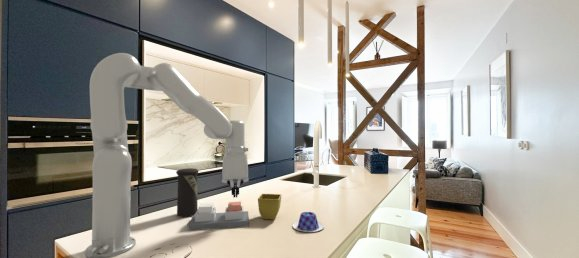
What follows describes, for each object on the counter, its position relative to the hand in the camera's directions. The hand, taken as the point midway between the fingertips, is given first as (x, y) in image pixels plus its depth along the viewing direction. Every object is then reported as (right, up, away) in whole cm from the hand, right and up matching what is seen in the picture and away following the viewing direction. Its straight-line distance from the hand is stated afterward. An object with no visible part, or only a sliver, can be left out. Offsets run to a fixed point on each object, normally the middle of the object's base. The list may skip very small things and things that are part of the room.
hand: (235, 196), depth 100 cm
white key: (-11, -6, -2) cm, 13 cm away
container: (-23, -10, +8) cm, 26 cm away
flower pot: (+14, -10, +4) cm, 18 cm away
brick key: (0, -6, 0) cm, 6 cm away
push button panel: (-6, -10, -1) cm, 12 cm away
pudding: (+29, -11, -6) cm, 31 cm away
